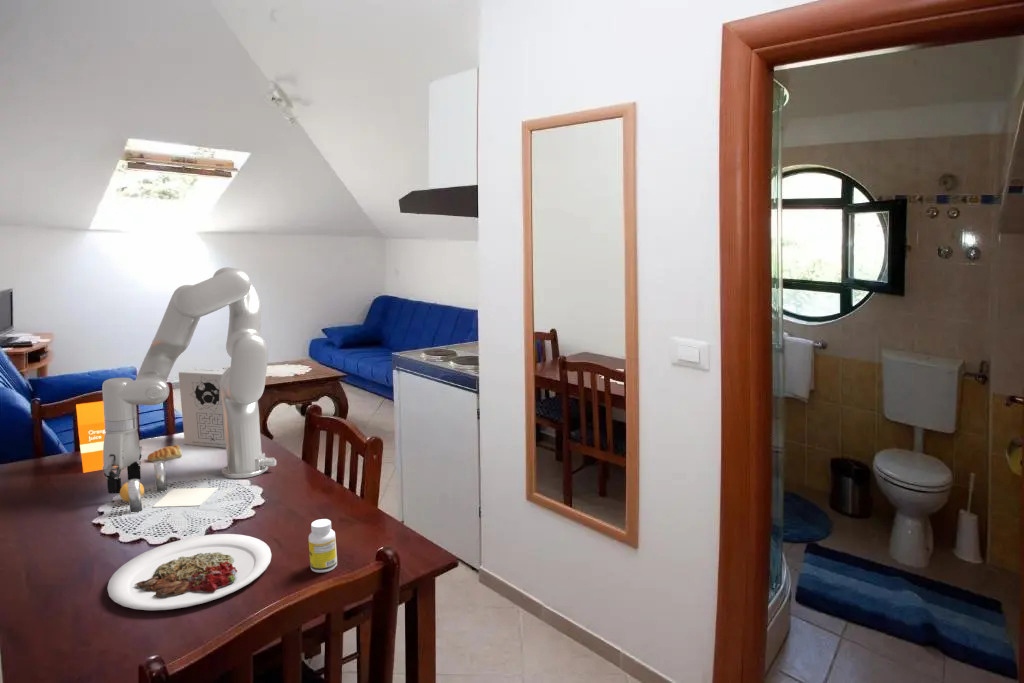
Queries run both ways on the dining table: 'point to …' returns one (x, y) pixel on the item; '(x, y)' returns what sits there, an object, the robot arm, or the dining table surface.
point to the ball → (125, 494)
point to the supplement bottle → (322, 546)
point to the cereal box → (202, 407)
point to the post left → (134, 495)
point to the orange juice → (91, 435)
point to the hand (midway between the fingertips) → (124, 486)
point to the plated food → (189, 572)
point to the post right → (160, 476)
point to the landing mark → (185, 497)
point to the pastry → (165, 454)
